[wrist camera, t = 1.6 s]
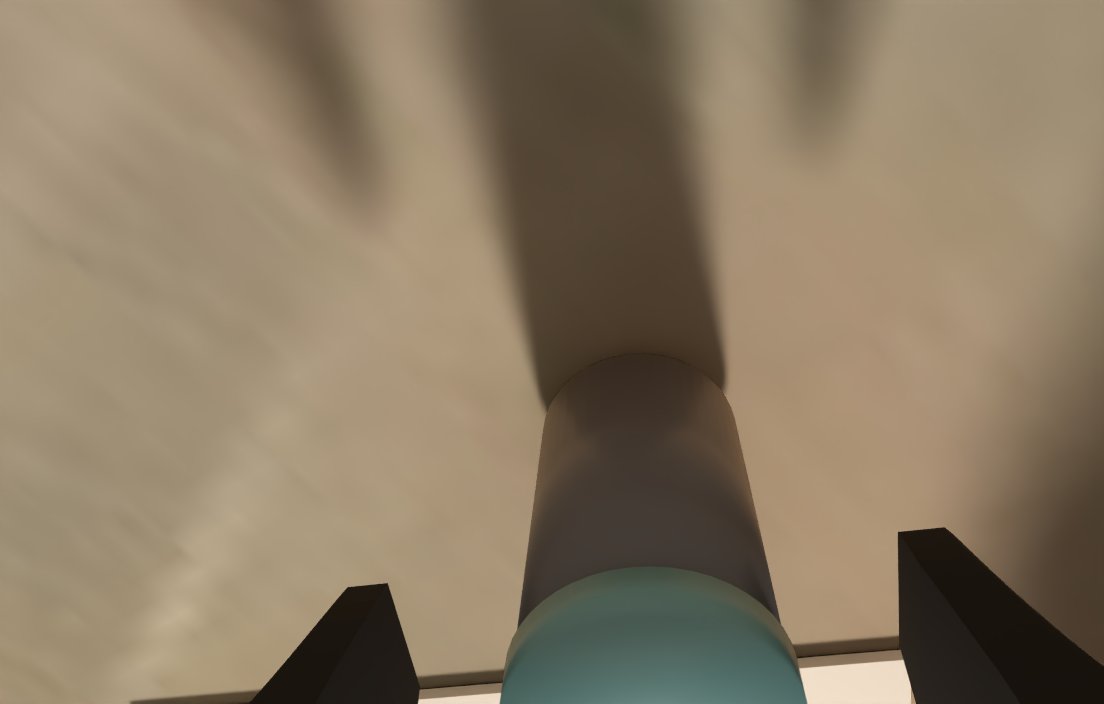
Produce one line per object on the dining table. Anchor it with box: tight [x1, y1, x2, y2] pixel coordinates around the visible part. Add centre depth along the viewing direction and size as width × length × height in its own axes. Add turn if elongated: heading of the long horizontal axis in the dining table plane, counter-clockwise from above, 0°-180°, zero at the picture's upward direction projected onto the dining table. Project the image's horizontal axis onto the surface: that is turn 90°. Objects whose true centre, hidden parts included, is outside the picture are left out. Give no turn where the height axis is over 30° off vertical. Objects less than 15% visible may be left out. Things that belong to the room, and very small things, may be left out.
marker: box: [500, 353, 807, 704], centre depth 15 cm, size 4×4×8 cm
